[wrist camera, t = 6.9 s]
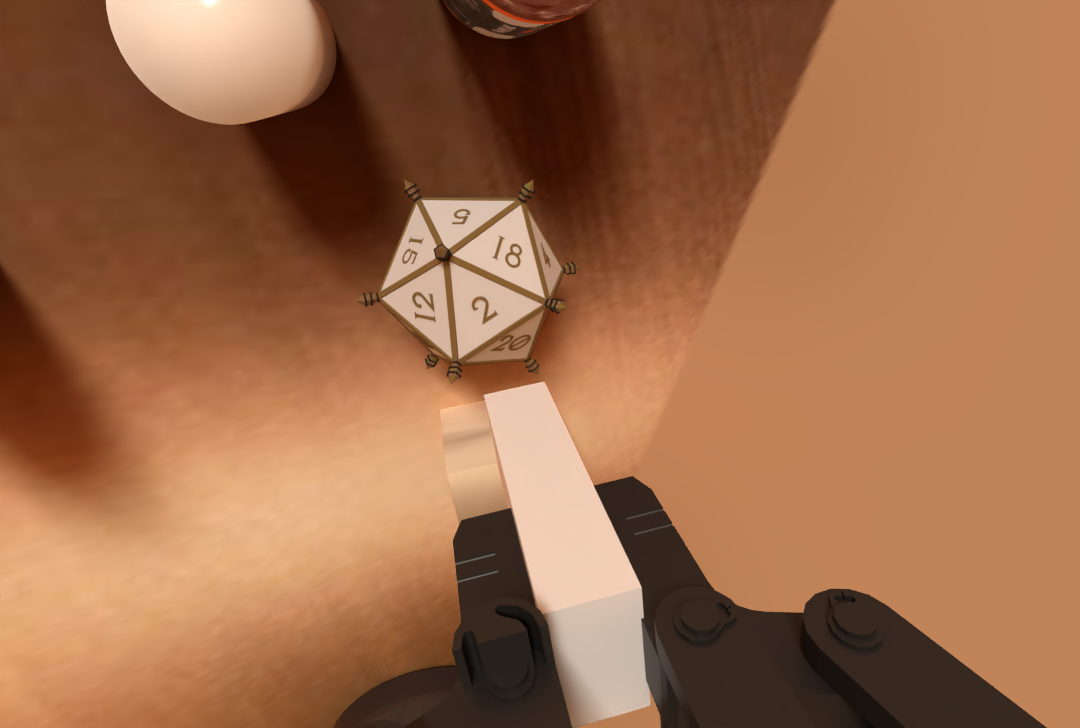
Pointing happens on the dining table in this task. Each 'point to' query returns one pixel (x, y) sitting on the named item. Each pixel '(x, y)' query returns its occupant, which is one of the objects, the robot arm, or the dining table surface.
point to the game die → (472, 279)
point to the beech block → (471, 461)
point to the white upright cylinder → (227, 54)
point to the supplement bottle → (514, 15)
